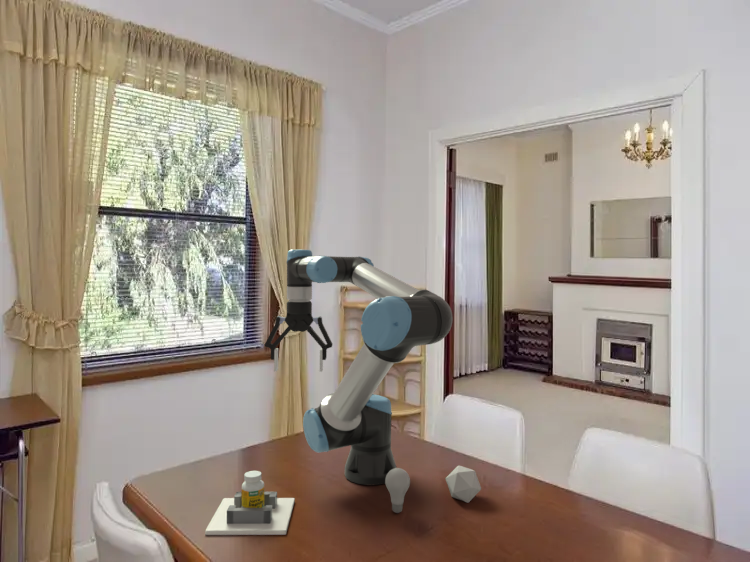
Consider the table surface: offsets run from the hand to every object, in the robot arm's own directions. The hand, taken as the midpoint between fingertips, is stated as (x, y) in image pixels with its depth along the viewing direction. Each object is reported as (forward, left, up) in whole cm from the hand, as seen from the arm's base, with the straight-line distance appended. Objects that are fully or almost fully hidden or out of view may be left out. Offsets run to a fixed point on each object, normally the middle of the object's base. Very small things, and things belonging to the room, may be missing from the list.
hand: (298, 370), depth 156 cm
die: (-46, +23, -29) cm, 59 cm away
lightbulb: (-28, +31, -29) cm, 51 cm away
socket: (+7, +33, -29) cm, 44 cm away
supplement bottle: (+7, +33, -28) cm, 44 cm away
